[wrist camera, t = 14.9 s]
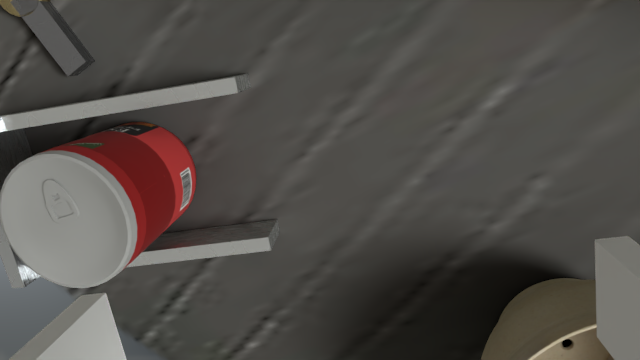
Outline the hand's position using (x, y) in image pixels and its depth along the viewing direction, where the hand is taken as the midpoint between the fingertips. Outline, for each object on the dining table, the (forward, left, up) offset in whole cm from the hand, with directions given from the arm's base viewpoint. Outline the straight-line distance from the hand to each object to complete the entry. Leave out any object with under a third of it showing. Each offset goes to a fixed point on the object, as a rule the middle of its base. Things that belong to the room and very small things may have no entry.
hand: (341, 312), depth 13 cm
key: (-11, -20, -23) cm, 32 cm away
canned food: (0, -16, -23) cm, 28 cm away
